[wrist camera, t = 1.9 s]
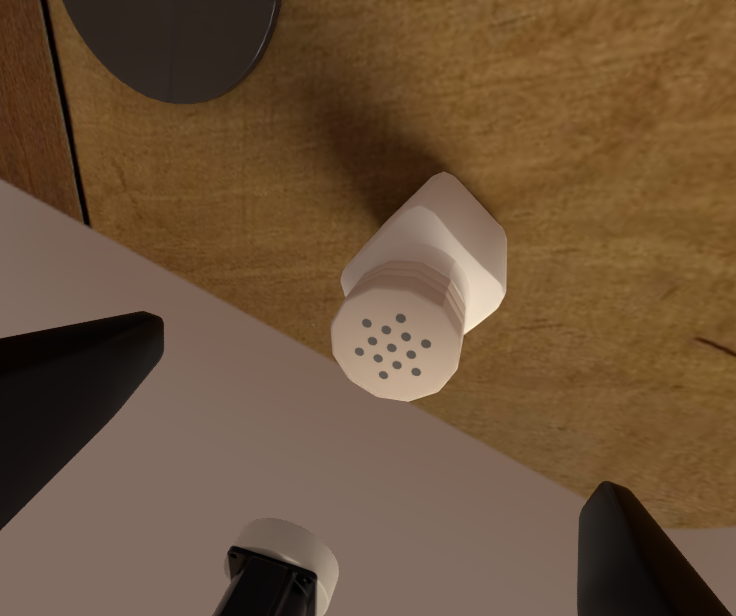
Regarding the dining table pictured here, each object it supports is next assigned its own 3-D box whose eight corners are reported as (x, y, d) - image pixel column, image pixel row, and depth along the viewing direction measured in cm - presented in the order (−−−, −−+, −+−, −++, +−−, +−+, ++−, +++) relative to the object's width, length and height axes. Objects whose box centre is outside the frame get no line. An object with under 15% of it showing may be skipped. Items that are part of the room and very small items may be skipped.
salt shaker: (377, 229, 20) (283, 335, 11) (445, 162, 18) (390, 232, 9) (440, 293, 20) (392, 439, 12) (513, 235, 18) (516, 362, 10)
